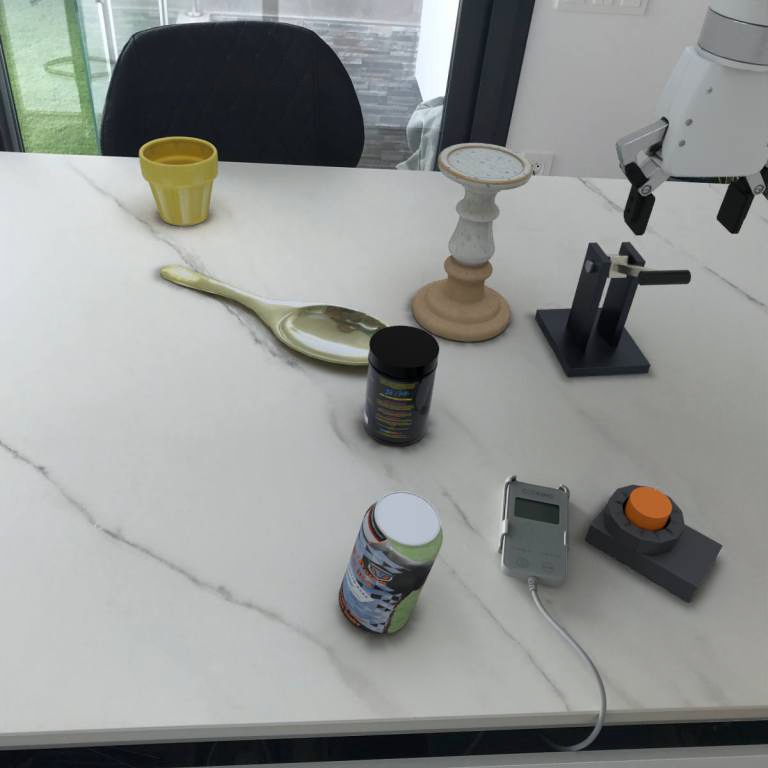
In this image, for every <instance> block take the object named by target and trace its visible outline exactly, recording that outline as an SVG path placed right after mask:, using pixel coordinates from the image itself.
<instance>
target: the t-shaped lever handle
mask: <svg viewBox="0 0 768 768" xmlns="http://www.w3.org/2000/svg"><path fill="white" fill-rule="evenodd" d="M605 254H606V255H607V257H608V258H609V259H610V261H611V262H612V264H611V267H610V270H609V274H608V277H607V279H611V278H626V277H627V275H630V276H634V277H638V278H637V279H638V283H639V284H638V286H641V287H642V286H673V285H675V286H677V285H689V284H690V283H691V280H692V272H691V271H690V270H689V269H664V270H663V269H662V270H661V269H655V268H650V267H646V266H644V267H641V266H637V265H632V264H628V256H625V255H620V254H618V253H605Z"/></svg>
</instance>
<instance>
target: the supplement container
mask: <svg viewBox="0 0 768 768" xmlns="http://www.w3.org/2000/svg"><path fill="white" fill-rule="evenodd" d="M439 356H440V343H439V342H438V340H437V339H436V338H435V336H433V335H432V333H429V331H426V330H423V329H422V328H419V327H415V326H411V325H403V324H402V325H390V326H389V327H386V328H383V329H380V330H379V331H377V332H376V333H374V334H373V336H372V337H371V339H370V342H369V353H368V365H367V371H366V372H367V373H366V387H365V397H364V398H365V399H364V400H365V401H364V410H363V424H364V427H365V429H366V431H367V433H368V434H369V435H370V436H371V437H372V438H373V439H375V440H377V442H380V443H382V444H385V445H389V446H395V447H401V446H408V445H411V444H414V443H415V442H417V441H418V440H420V439H422V438H423V436H424V435H425V434H426V433H427V431H428V426H429V421H430V414H431V407H432V399H433V395H434V394H433V393H434V388H435V380H436V373H437V368H438V365H439Z"/></svg>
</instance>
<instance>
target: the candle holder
mask: <svg viewBox="0 0 768 768" xmlns="http://www.w3.org/2000/svg"><path fill="white" fill-rule="evenodd" d="M437 166H438V169H439V171H440V172H441V174H442V175H443V176H444V177H446V178H447V179H449V180H451V181H452V182H455V183H457V184H459V185H461V186H462V187H463V188H464V197H463V198H462V199H460V200H459V201H458V202H457V203H456V205H455V211H456V213H457V214H458V217H459V218H458V220H457V224H456V226H455V228H454V230H453V233H452V234H451V236H450V239H449V241H448V245H447V247H448V252H449V254H450V255H449V256H447V257H446V258H445V260H444V262H443V269H444V271H445V272H446V273H447V278H444V279H440V280H435V281H432V282H429V283H427V284H426V285H424V286H422V287H421V288H419V290H418V291H417V292H416V293H415V294H414V296H413V298H412V304H411V309H412V314H413V317H414V318H415V320H416V322H418V324H420V326H421V327H422V328H424V329H425V330H427V332H430V333H431V334H434V335H436V336H437V337H441V338H444V339H447V340H451V341H457V342H470V343H471V342H482V341H487V340H490V339H493V338H494V337H497V336H498V335H500V334H502V333H503V332H504V331H505V330H506V329H507V327H508V325H509V323H510V320H511V309H510V305H509V303H508V301H507V300H506V299H505V298H504V296H503V295H501V293H499V292H498V291H496V290H495V289H493V288H491V287H489V286H488V285H486V284H485V281H486V280H487V279H489V278H490V277H491V275H492V274H493V271H494V269H493V265H492V263H491V262H490V260H491V259H492V258H493V256H494V254H495V251H496V245H495V239H494V229H493V228H494V227H493V226H494V225H493V222H494V221H495V220H497V219H498V218H499V216H500V213H501V210H500V208H499V206H498V205H497V204H496V201H495V200H496V197H497V194H498V193H500V192H502V191H508V190H514V189H517V188H520V187H522V186H525V185H526V184H527V183H528V182H529V181H531V178H532V176H533V173H534V168H533V164H532V162H531V161H530V160H529V159H528V158H527V157H526V156H524V155H523V154H522V153H520V152H518V151H515V150H513V149H511V148H507V147H506V146H501V145H498V144H492V143H483V142H465V143H464V142H463V143H458V144H454V145H453V144H452V145H450V146H448V147H446V148H444V149H443V150H442V151H440V153H439V155H438V158H437Z"/></svg>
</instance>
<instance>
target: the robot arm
mask: <svg viewBox="0 0 768 768" xmlns="http://www.w3.org/2000/svg"><path fill="white" fill-rule="evenodd" d="M615 149H616V155H617V159H618V161H619V164H618V165H619V166H618V167H619V169H620V170H621V172H622V173H623V174H624V176H625V177H626V178H627V180H628V182H629V183H630V184H631V186H630V190H629V193H628V196H627V200H626V204H625V206H624V210H623V213H622V215H623V216H622V217H623V221H624V223H625V224H626V225H627V227H628V228H629V229H630V230H631V232H632V233H633V234H634V235H635V236H637V237H639V236H640V237H641V236H643V235H644V234H645V233H646V231H647V227H648V224H649V222H650V218H651V215H652V212H653V210H654V206H655V203H656V196H655V195H654V194H653V192H655V191H656V190H657V189H658V187H661V185H662V184H663V183H665V182H666V181H667V180H668V179H669V178H671V177H675V178H678V177H679V178H736V179H737V180H731V181H730V183H729V184H728V186H727V189H726V192H725V194H724V196H723V199H722V202H721V204H720V207H719V209H718V211H717V214H716V221H718V223H720V225H721V226H723V228H724V229H726V230H727V231H728V232H729V233H730V234H731V235H738V234H740V231H741V229H742V227H743V224H744V221H745V220H746V218H747V216H748V214H749V211H750V208H751V206H752V204H753V201H754V199H755V196H760V195H762V194H763V193H764V192H765V190H766V186H767V185H768V0H710V1H709V4H708V7H707V10H706V14H705V16H704V20H703V23H702V26H701V28H700V32H699V35H698V39H697V41H696V44H695V46H686V47H685V49H684V50H683V52H682V53H681V55H680V56H679V59H678V61H677V62H676V64H675V66H674V68H673V69H672V72H671V73H670V76H669V78H668V80H667V82H666V85H665V87H664V89H663V91H662V94H661V96H660V98H659V100H658V103H657V105H656V108H655V110H654V114H653V116H652V119H651V122H650V124H649V125H646V126H645V127H643V128H640V129H637V130H636V131H634V132H632V133H630V134H627V135H625V136H623V137H621V138H619V139H618V140H617V141H616V142H615ZM641 151H643V153H644V155H646V158H645V159H644V160H643V161H642V162H641V163H640V164H639V165H638V154H639V153H640V152H641Z"/></svg>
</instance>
